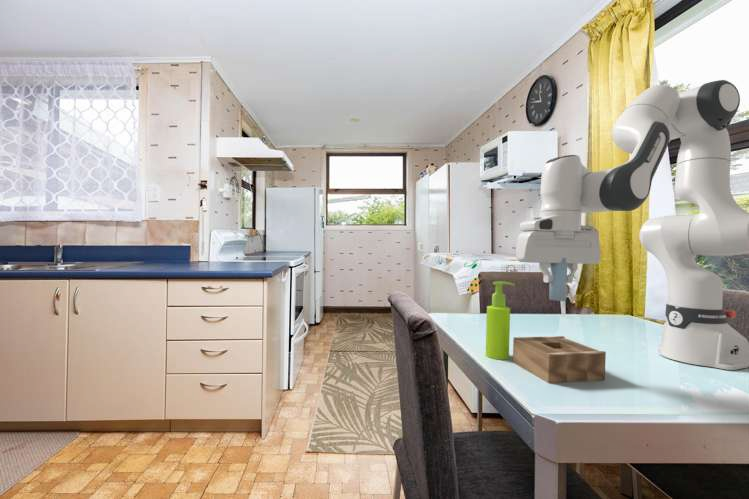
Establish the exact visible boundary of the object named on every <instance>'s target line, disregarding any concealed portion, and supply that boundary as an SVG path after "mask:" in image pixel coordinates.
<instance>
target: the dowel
mask: <svg viewBox="0 0 749 499" xmlns="http://www.w3.org/2000/svg"><path fill="white" fill-rule="evenodd" d="M567 270H568V268H567V262H566V258H562V261H561V262H560V263H550V268H549V272H550V274H551V275H554V278H553V280H554V282H553V283H549V292H548V293H549V294H548V295H549V296H548V299H549V300H550V301H555V302H556V301H557V302H566V301H567V284H568V283H567Z"/></svg>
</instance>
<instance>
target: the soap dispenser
mask: <svg viewBox="0 0 749 499" xmlns="http://www.w3.org/2000/svg"><path fill="white" fill-rule="evenodd" d="M492 284H493V285H495V292H493V293H492V295H491V305H487V306H486V324H485V325H486V326H485V327H486V328H485V329H486V330H485V331H486V332H485V357H487V358H490V359H493V360H502V361H504V360H508V359H509V358H510V333H511V332H510V331H511V328H510V325H511V307H508V306H506V294H505V293H504V292H503V285H507V286H515V285H516V283H514V282H510V281H504V280H503V281H502V280H501V281H493V282H492Z"/></svg>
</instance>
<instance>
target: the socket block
mask: <svg viewBox="0 0 749 499" xmlns="http://www.w3.org/2000/svg"><path fill="white" fill-rule="evenodd" d="M512 340H513V346H512V348H513V349H512V363H513V364H515V365H517V366H519V367H520V368H522V369H524V370H526V371H528V372H529V373H530V374H533V375H534V376H536V377H537V378H539V379H541V380H543V381H544V382H546V383H547V384H555V383H571V382H575V383H576V382H592V381H593V382H594V381H605V380H606V359H607V358H606V354H607V353H606V351H605V350H598V349H596V348H593V347H590V346H587V345H584V344H582V343H579V342H576V341H574V340H571V339H569V338H566V337H565V336H563V335H560V336H554V335H553V336H521V337H520V336H519V337H513V339H512Z"/></svg>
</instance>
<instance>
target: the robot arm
mask: <svg viewBox="0 0 749 499" xmlns="http://www.w3.org/2000/svg"><path fill="white" fill-rule="evenodd" d="M740 103H741V97H740V93H739V90H738V88H737V87H736V85H735V84H733V83H732V82H730V81H728V80H726V79H719V80H713V81H710V82H706V83H703V84H702V85H700V86H697V87H693V88H690V89H687V90H685V91H682V92H678V91H677V90H676V89H675V88H674V87H672V86H669V85H667V84H656V85H652V86H650V87H648V88H646V89H645V90H644V91H642V92H641V93H639V94H638V95H637V96H635V98H634V99H633V100H632V101H631V102H630V103H629V104H628V105H627V106H626V107H625V109H624V110H623V111H622V112H621V114H620V115H619V116H618V118H616V120H615V122H614V124H613V126H612V129H611V138H612V141H613V143H614V144H615V146H616V147H617V148H619V149H620V150H621V151H623V152H625V153H628V154H631V155H630V157H629V159H628V161H626V162H624V163H623V164H621V165H620V164H619V165H618V166H615V167H612V168H607V169H602V170H598V171H594V172H593V170H590V169H588V168H587V167H585V166H584V164H583V163H582V162H581V158H580V155H577V154H568V155H563V156H558V157H554V158H551V159H549V160H547V161H545V163H544V165H543V168H542V172H541V178H540V191H539V193H540V195H539V196H540V199H541V207H540V210H539V216H538V217H534V218H531V219H528V220H525V221H522V222H520V224H519V230H520V231H521V232H520V233H519V234H518V237H517V240H516V249H515V250H516V251H515V252H516V254H515V255H516V257H515V258H516V259H517V261H518V262H520V263H531V264H533V263H536V264H538V265H539V266H538V267H539V270H540V272H541V273H542V275H543V278H542V279H543V280H542V281H543V283H548V284H550V283H553V282H554V280H553V278H554V275H551V274H550V263H560V262H561V261H562V258H566V262H567V284H572V283H573V282H574V280H573V277H574V275H575V274H576V273H577V270H578V268H579V267H578V265H579V264H581V265H583V264H584V265H598V264H599V263H600V261H601V258H602V256H601V244H600V238H599V237H600V236H599V231H598V230H597V228H596V227H594V226H593V225H582V214H588V213H600V212H601V213H604V212H612V211H613V212H631V211H635V210H637V209H638V208H639V207H641V206H642V204H644V203H645V201H646V200H647V199H648V197H649V195H650V191H651V187H652V181H653V178H654V176H655V174H656V172H657V170H658V168H659V166H660V164H661V163H662V162H661V161H662V160H663V158H664V155H665V153H666V151H667V148H668V145H669V143H670V139H671V140H672V139H676V138H679V139H680V142H681V143H680V146H679V149H678V154H677V158H676V168H675V177H674V178H675V179H674V180H675V181H674V188H673V189H674V193H675V195H676V196H677V198H679V199H680V200H683V201H684V202H687V203H691V204H692V205H693V204H694V205H696V206H698V207H699V212H698V213H695V214H679V215H677V214H675V215H663V216H660V217H655V218H651V219H647V220H646V221H644V223H643V224H642V225H641V227H640V229H639V231H638V232H639V233H638V238H639V243H640V244H641V246H642V247H643V249H644V250H646V251H647V252H648V253H651V254H652V255H653V256H654V257H655V258H656V259H657V260H658V261H659V263H660V264H661V266H662V268H663V269H664V272H665V275H666V281H667V303H666V304H665V308H664V311H665V317H666V321H665V322H664V323H663V330H662V335H661V342H660V344H659V345H658V346H657V347H658V348H657V349H658V351H659V352H658V354H659V355H661V356H662V357H664V358H667V359H670V360H674V361H677V362H682V363H685V364H690V365H695V366H701V367H702V366H704V367H710V368H711V367H712V368H717V369H722V370H727V371H735V370H740V369H747V368H749V340H748V339H747V338H746V337H745V336H743V335H742V334H741V333H740V332H738V331H737V330H736V329H735V328H733V327H732V326H731V325H730V324H729V321H728V318H730V319H735V318H736V317H737V312H736V311H735V310H728V309H724V308H723V297H724V296H723V295H724V282H723V279H721V277H720V276H719V275H718V274H717V273H715V272H713V271H711V270H709V269H706V268H705V267H702V266H700V265H699V264H698V263H697V261H696V257H695V256H716V257H717V256H719V257H720V256H721V257H722V256H723V257H724V256H725V257H730V256H737V255H738V256H741V255H748V254H749V211H746V210H745V209H744V208H742V207H741V206H740V205H739V204H738V203H737V201H736V200H735V199H734V197H733V195H732V191H731V164H732V161H731V160H732V159H731V158H732V150H731V149H732V148H731V147H732V146H731V140H730V138H731V137H730V134H729V131H728V129H727V128H728V127H729V125H731V123H732V120H733V118H734V117H735V116H736V113H737V112H738V111H739V107H740Z"/></svg>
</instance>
